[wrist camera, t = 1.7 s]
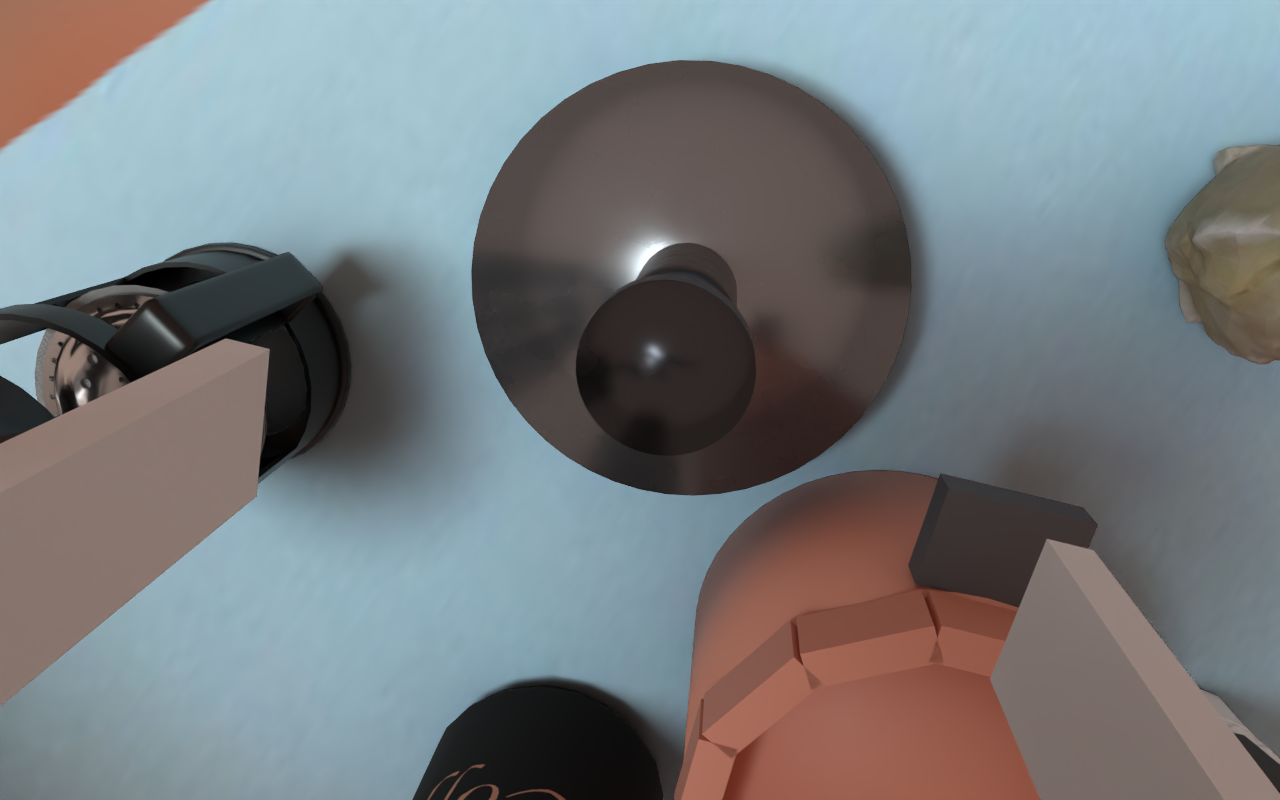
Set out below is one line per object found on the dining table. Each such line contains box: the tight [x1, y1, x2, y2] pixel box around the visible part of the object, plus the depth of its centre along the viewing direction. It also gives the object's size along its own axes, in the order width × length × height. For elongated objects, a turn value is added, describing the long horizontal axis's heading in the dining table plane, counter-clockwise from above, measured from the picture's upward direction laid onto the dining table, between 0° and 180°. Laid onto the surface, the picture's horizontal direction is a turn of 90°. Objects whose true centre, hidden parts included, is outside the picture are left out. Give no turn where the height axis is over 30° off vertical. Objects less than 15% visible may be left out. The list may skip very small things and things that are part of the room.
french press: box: [0, 243, 351, 484], centre depth 28 cm, size 12×9×23 cm
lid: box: [472, 60, 911, 495], centre depth 30 cm, size 16×16×13 cm
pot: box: [674, 470, 1097, 800], centre depth 34 cm, size 21×15×12 cm
